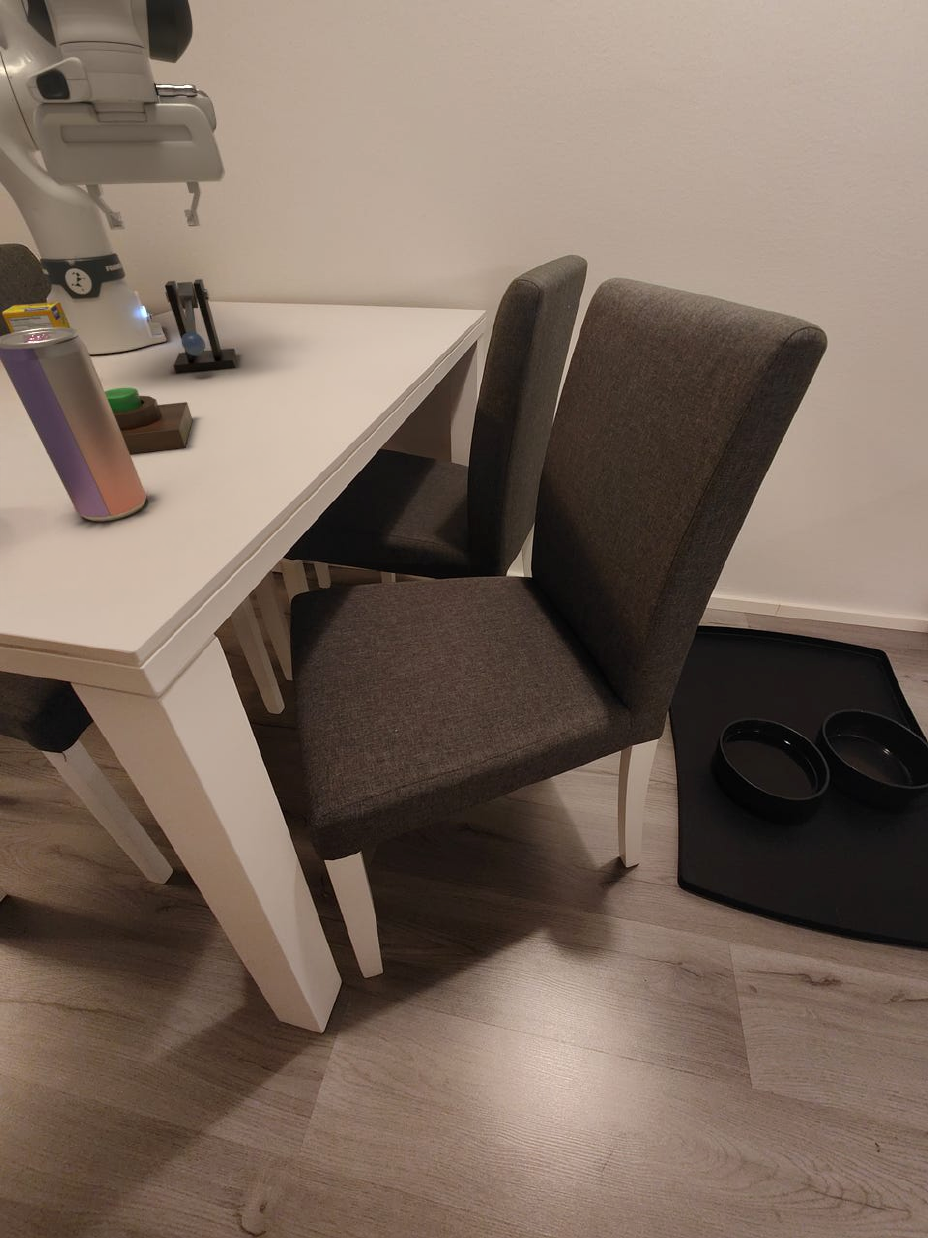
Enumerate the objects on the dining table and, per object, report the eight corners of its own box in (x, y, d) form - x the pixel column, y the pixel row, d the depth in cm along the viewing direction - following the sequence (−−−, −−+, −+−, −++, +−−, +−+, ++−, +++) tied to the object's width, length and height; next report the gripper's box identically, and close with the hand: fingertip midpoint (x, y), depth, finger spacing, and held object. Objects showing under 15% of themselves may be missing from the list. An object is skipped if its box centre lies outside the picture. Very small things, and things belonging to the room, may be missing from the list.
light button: (108, 404, 66) (102, 389, 65) (145, 401, 67) (139, 385, 66) (101, 415, 63) (95, 399, 62) (140, 411, 64) (134, 395, 63)
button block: (90, 430, 70) (76, 397, 68) (192, 419, 73) (182, 386, 70) (70, 461, 63) (53, 425, 60) (185, 447, 65) (173, 412, 63)
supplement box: (93, 380, 87) (60, 300, 81) (86, 391, 83) (50, 308, 76) (50, 385, 86) (13, 304, 79) (40, 396, 82) (0, 311, 75)
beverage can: (76, 529, 50) (-17, 347, 41) (82, 501, 55) (-1, 331, 45) (148, 515, 52) (75, 338, 43) (149, 489, 57) (82, 323, 47)
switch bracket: (234, 367, 92) (213, 283, 84) (175, 373, 90) (148, 288, 82) (236, 355, 98) (216, 276, 90) (181, 360, 96) (155, 280, 88)
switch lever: (208, 359, 85) (202, 341, 83) (186, 361, 85) (179, 343, 82) (200, 297, 90) (194, 278, 87) (179, 298, 89) (172, 280, 86)
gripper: (209, 86, 70) (239, 222, 79) (25, 85, 66) (78, 228, 75) (206, 81, 66) (238, 225, 74) (8, 79, 61) (66, 233, 70)
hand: (157, 227), depth 75 cm, fingers open, 8 cm apart
